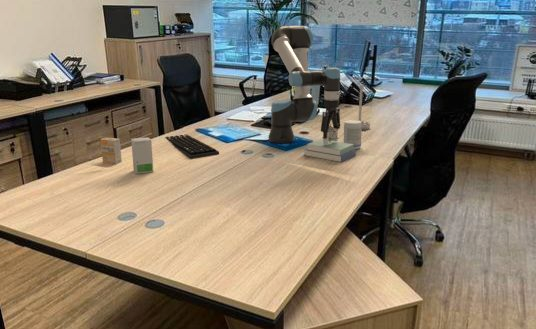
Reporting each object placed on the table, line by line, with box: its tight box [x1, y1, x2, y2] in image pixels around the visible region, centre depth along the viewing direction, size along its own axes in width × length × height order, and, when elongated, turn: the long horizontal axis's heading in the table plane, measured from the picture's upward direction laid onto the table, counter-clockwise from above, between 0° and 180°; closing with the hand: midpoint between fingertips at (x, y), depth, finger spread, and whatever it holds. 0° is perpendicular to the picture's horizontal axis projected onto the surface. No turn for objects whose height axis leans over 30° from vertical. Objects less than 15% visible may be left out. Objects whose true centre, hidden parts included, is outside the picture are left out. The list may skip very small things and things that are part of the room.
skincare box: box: [130, 137, 154, 175], centre depth 208 cm, size 8×7×16 cm
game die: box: [321, 123, 339, 141], centre depth 230 cm, size 9×8×10 cm
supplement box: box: [99, 137, 123, 166], centre depth 219 cm, size 8×5×13 cm, turn 70°
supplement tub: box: [343, 119, 363, 150], centre depth 246 cm, size 10×10×15 cm
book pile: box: [303, 138, 357, 163], centre depth 232 cm, size 22×15×6 cm
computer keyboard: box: [164, 133, 220, 160], centre depth 249 cm, size 45×16×4 cm, turn 31°
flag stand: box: [358, 83, 371, 131], centre depth 285 cm, size 13×13×30 cm
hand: (330, 142), depth 231 cm, fingers closed on game die, 9 cm apart
